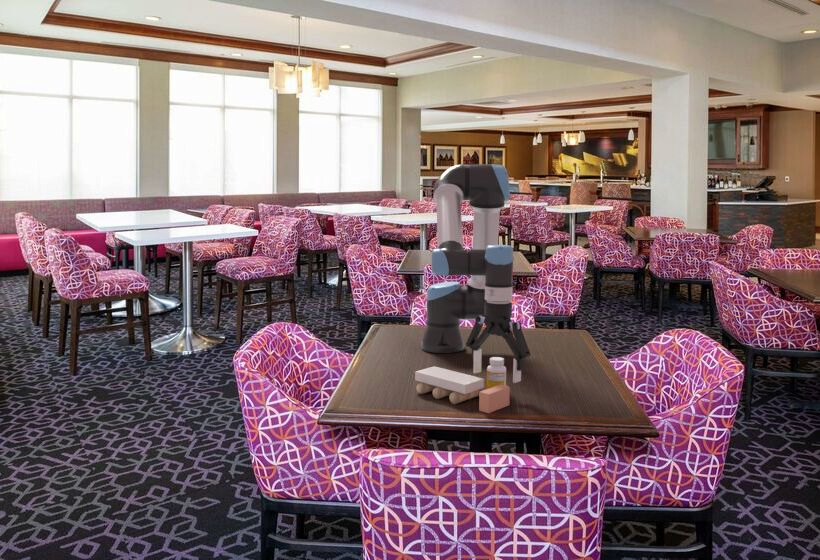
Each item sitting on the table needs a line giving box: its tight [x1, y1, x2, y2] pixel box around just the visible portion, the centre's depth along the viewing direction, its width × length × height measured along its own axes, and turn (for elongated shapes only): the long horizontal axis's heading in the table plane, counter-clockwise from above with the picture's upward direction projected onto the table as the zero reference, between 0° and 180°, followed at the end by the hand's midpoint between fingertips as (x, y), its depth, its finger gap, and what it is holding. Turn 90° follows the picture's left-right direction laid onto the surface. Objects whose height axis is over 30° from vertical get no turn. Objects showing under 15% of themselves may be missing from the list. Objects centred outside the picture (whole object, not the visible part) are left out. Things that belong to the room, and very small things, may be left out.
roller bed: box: [416, 382, 482, 405], centre depth 188 cm, size 15×10×3 cm, turn 46°
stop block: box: [478, 384, 511, 414], centre depth 177 cm, size 3×9×5 cm, turn 137°
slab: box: [414, 366, 485, 394], centre depth 187 cm, size 18×8×2 cm, turn 46°
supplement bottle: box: [485, 356, 507, 390], centre depth 190 cm, size 5×5×10 cm
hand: (496, 377), depth 190 cm, fingers open, 13 cm apart
